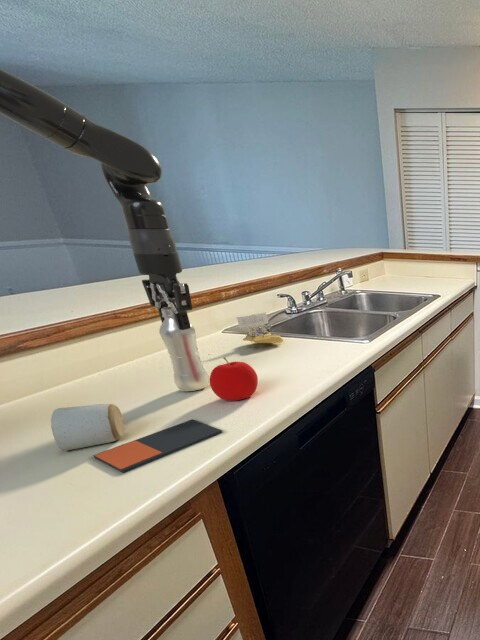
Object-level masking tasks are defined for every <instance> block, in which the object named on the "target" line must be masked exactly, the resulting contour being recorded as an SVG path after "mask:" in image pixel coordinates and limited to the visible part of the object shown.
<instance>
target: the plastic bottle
mask: <svg viewBox="0 0 480 640" xmlns="http://www.w3.org/2000/svg"><path fill="white" fill-rule="evenodd" d="M161 311H162V317H164V318H165V320H164V321H163V323H162V322H161V325H160V326H159V332H158V333H159V335H160V338H161V340H162V342H163V344H164V345H165V347H166V350H167V353H168V355H169V357H170V360H171V365H172V371H173V381H174V384H175V386H176V388H177V389H178V390H179V391H181V392H194V391H199V390H202V389H204V388H206V387H207V386H208V385H209V384H210V376H209V375H208V372H207V370H206V369H205V367H204V364H203V362H202V360H201V357H200V353H199V350H198V343H197V335H196V329H195V326H193V324H192V323H191V322H190V326H191V327H190V328H189V329H185V330H180V329H179V328H178V325H177V322H176V318H175V315H174V314H175V313H174V311H173V309H172V307H171V306H170V307H164V308H161Z"/></svg>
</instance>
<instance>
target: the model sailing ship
mask: <svg viewBox="0 0 480 640" xmlns="http://www.w3.org/2000/svg"><path fill="white" fill-rule="evenodd" d="M268 319H269V318H268V315H267V312H260V313H255V314H250V315H243V316H238V317H237V316H236V320H237V321H236V322H237V324H238V328H239V329H242V328H247V329H248V332H247V333H246V334H245V337H244V338H242V341H244V342H245V341H247V342H250V343H251V344H252V343H253V342H254V343H256V344H258V343H261V344H262V343H264V344H281V343H283V342H284V339H283V338H282V336H281V335H277V334H273V333H272V334H271V332H268V331H266V330H265V329H266V324H269V320H268ZM255 326H260V327H258V328H257V329H256V330H254V333H255V334H253V331H252V330H253V329H254V327H255ZM209 355H211V354H210V353H208V356H209Z"/></svg>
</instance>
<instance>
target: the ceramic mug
mask: <svg viewBox="0 0 480 640" xmlns="http://www.w3.org/2000/svg"><path fill="white" fill-rule="evenodd" d="M50 426H51V432H52V436H53V438H54V439H53V440H54V441H55V443H56V445H57V446H58V448H59V449H60V450H61V451H64V452H65V451H66V452H67V451H71V450H72V451H73V450H77V449H78V450H79V449H83V448H89V447H93V446H97V445H103V444H108V443H109V444H110V443H113V442H116V441H119V440H120V439H122V438H123V437H124V434H125V423H124V418H123V415H122V412H121V410H120V408H119V407H118V406H117V405H116V404H114V403H98V404H90V405H89V404H88V405H79V406H67V407H57V408H55V409H54V410H52V414H51V418H50Z"/></svg>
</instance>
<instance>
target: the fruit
mask: <svg viewBox="0 0 480 640" xmlns="http://www.w3.org/2000/svg"><path fill="white" fill-rule="evenodd" d="M222 359H223V360H224V361H225V362H226V363H223V364H219V365H216V366H215V367H214V368H213V369H211V370H212V371H210V372H211V373H210V376H209V386H210V388H211V391H212V392H213V393H214V394H215V395H216V396H217V398H218V399H221V400H223V401H227V402H229V401H230V402H235V401H241V400H244V399H249V398H250V397H252V396H253V394H254V393H255V392H256V390H257V388H258V383H259V378H258V374H257V372H256V371H255V369H254V367H252V365H250V364H249V363H246V362H244V361H231V362H229V361H228V360H227V358H226V356H224V357H223V358H222Z"/></svg>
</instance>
